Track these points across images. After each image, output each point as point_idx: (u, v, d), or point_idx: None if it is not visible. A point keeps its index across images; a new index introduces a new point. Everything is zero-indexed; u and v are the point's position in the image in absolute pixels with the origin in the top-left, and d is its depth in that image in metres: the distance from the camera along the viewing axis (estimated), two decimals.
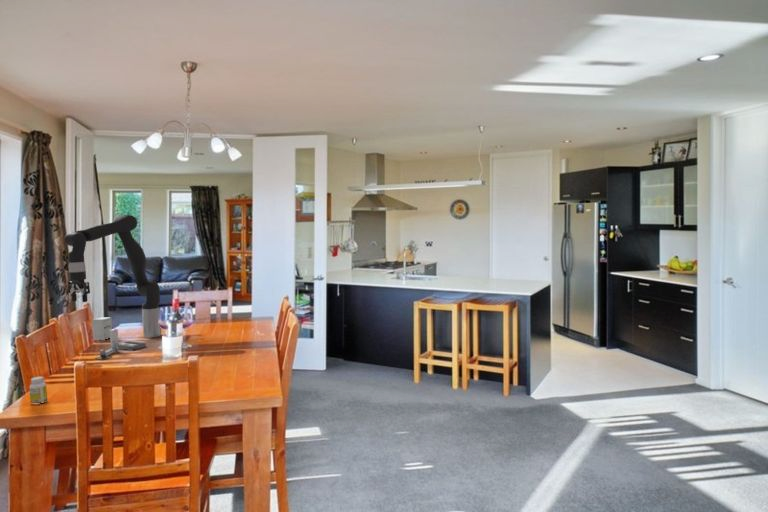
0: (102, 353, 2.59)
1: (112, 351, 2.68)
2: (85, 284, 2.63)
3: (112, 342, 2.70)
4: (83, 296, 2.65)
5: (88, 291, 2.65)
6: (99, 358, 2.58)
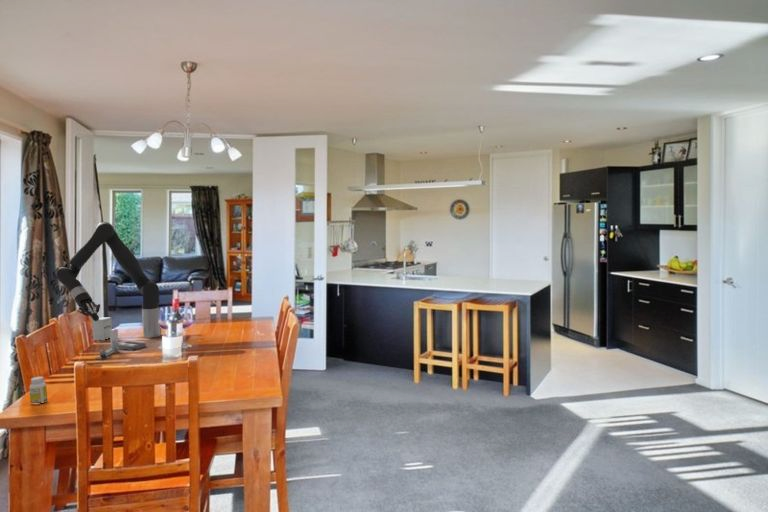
0: (102, 353, 2.59)
1: (112, 351, 2.68)
2: (79, 311, 2.74)
3: (112, 342, 2.70)
4: None
5: (87, 312, 2.75)
6: (99, 358, 2.58)
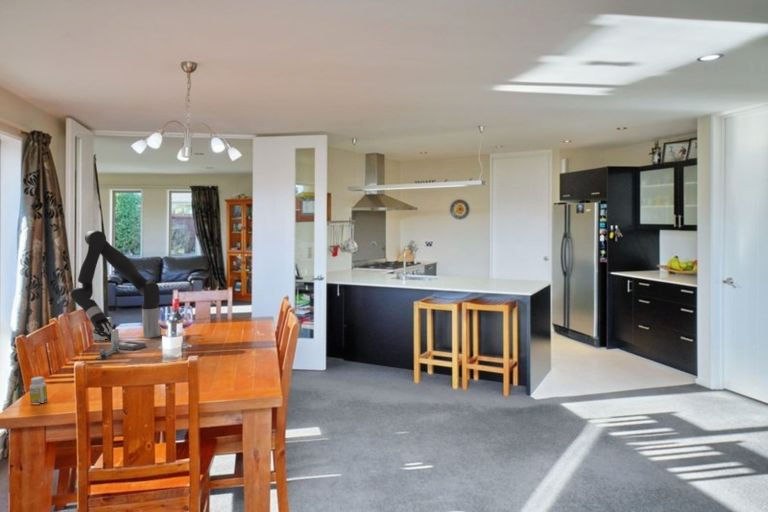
0: (102, 353, 2.59)
1: (112, 351, 2.67)
2: (94, 332, 2.70)
3: (113, 342, 2.70)
4: None
5: None
6: (99, 358, 2.58)
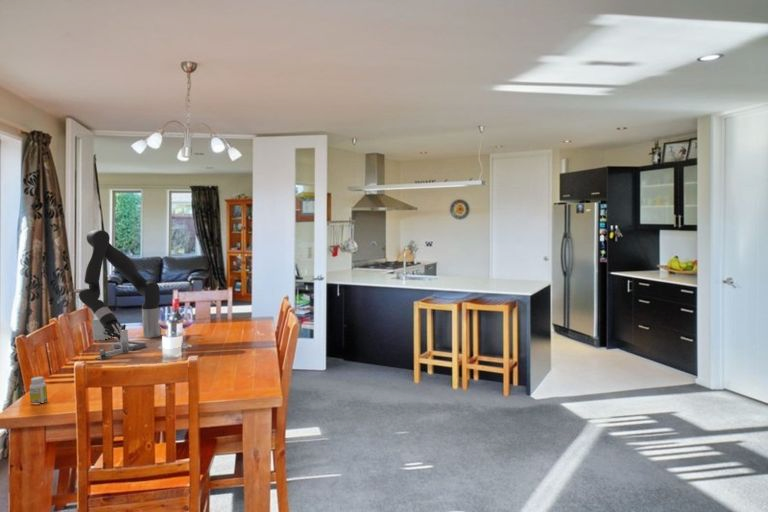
0: (101, 353, 2.59)
1: (117, 352, 2.66)
2: (105, 333, 2.69)
3: (120, 342, 2.68)
4: None
5: None
6: (99, 358, 2.58)
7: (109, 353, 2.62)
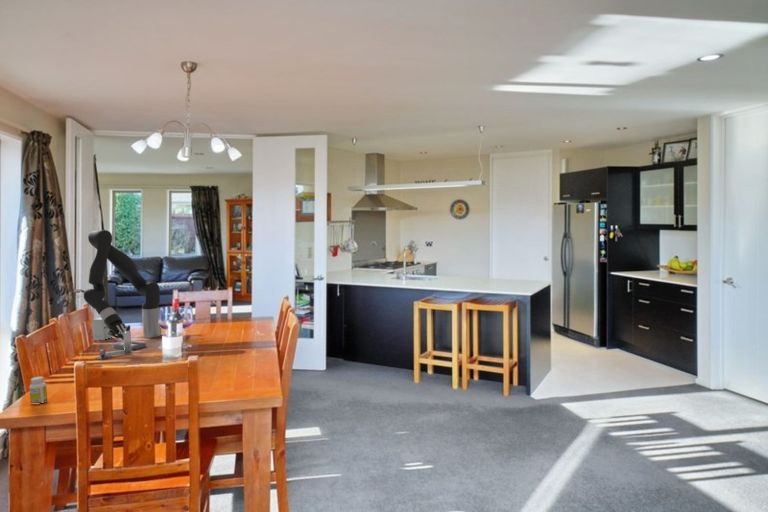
0: (100, 353, 2.59)
1: (119, 353, 2.64)
2: (109, 334, 2.66)
3: None
4: None
5: (118, 335, 2.68)
6: (99, 358, 2.58)
7: (109, 353, 2.61)
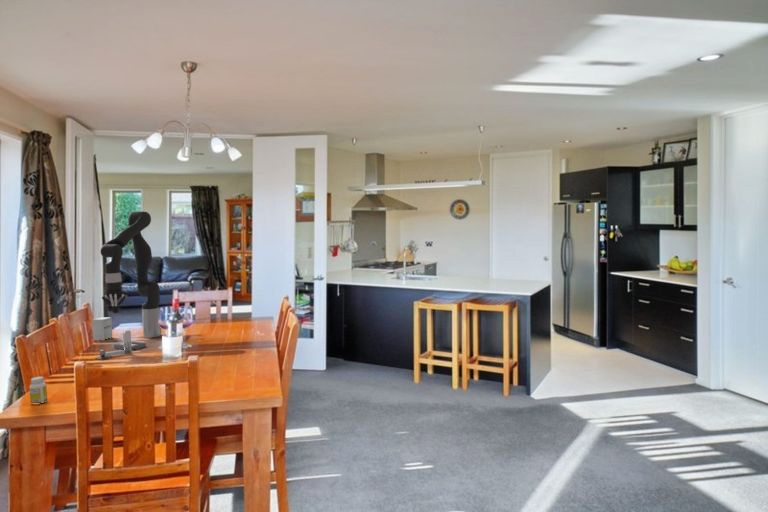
0: (100, 353, 2.59)
1: (119, 353, 2.64)
2: (125, 297, 2.77)
3: None
4: (116, 307, 2.77)
5: None
6: (99, 358, 2.58)
7: (109, 353, 2.61)
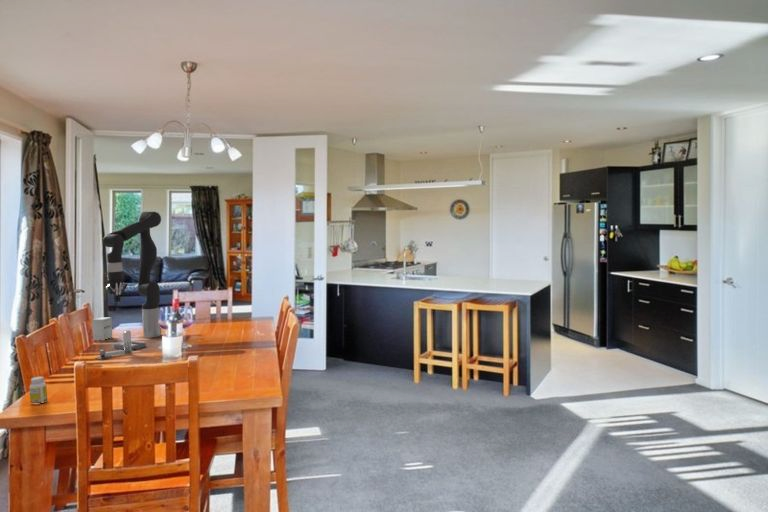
0: (100, 353, 2.59)
1: (119, 353, 2.64)
2: None
3: None
4: (119, 296, 2.83)
5: (120, 291, 2.85)
6: (99, 358, 2.58)
7: (109, 353, 2.61)
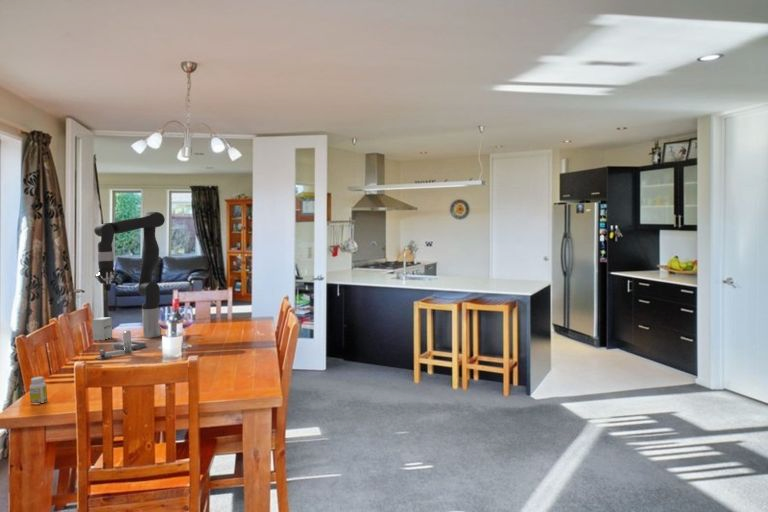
0: (100, 353, 2.59)
1: (119, 353, 2.64)
2: None
3: None
4: (109, 285, 2.85)
5: None
6: (99, 358, 2.58)
7: (109, 353, 2.61)
